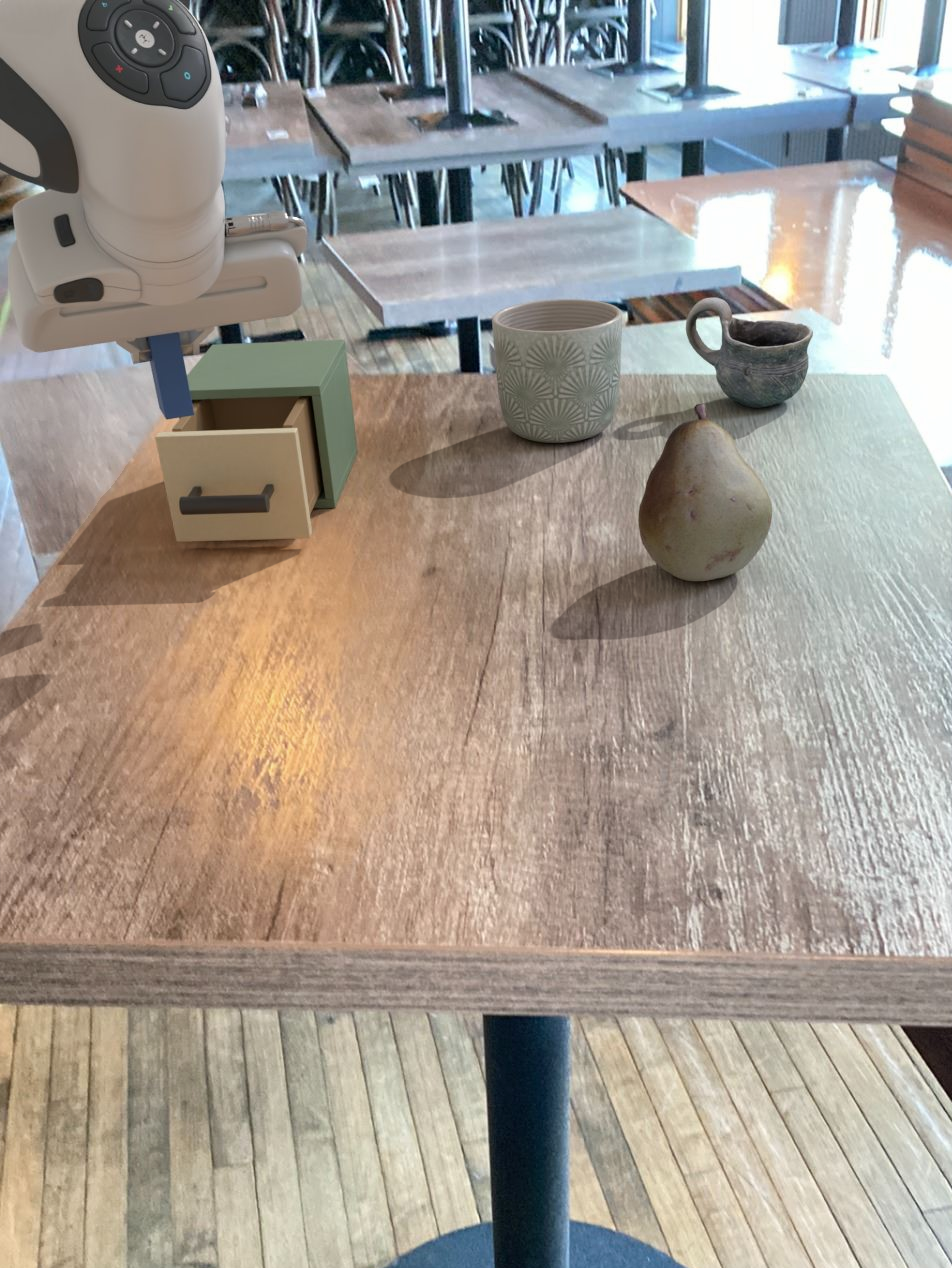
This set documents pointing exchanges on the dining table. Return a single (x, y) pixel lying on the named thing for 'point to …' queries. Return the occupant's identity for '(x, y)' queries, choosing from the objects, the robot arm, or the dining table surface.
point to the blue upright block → (170, 376)
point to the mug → (754, 355)
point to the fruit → (703, 504)
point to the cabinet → (290, 393)
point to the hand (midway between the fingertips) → (163, 351)
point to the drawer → (242, 469)
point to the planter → (558, 367)
